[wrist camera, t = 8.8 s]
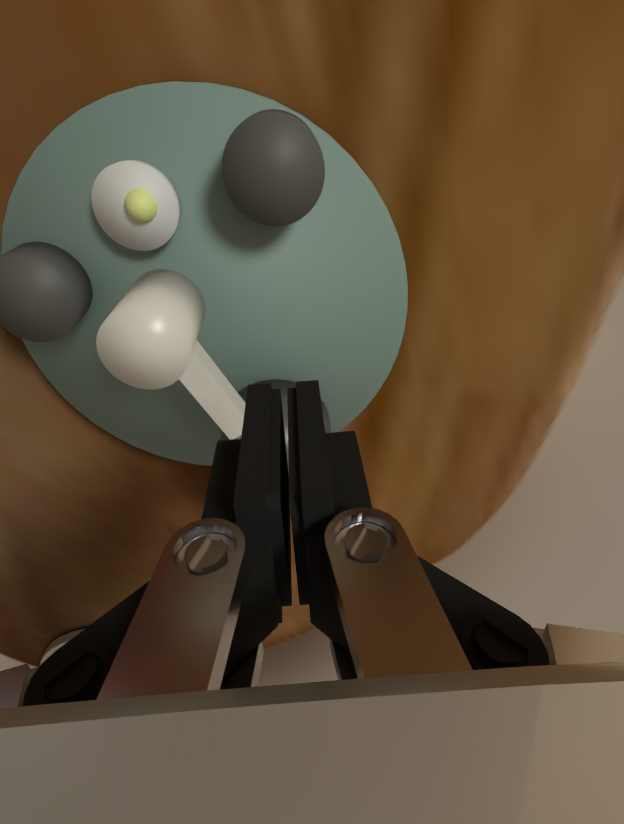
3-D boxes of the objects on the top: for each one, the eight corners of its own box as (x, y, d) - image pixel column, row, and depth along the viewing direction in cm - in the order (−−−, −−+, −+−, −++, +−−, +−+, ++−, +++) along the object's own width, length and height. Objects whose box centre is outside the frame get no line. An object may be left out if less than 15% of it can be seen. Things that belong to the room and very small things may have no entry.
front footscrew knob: (347, 438, 26) (360, 519, 21) (260, 477, 27) (255, 561, 22) (209, 225, 19) (182, 272, 14) (103, 291, 20) (47, 354, 16)
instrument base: (168, 487, 29) (155, 530, 26) (-78, 212, 20) (-140, 234, 17) (444, 380, 26) (463, 417, 23) (307, -23, 16) (311, -47, 13)
